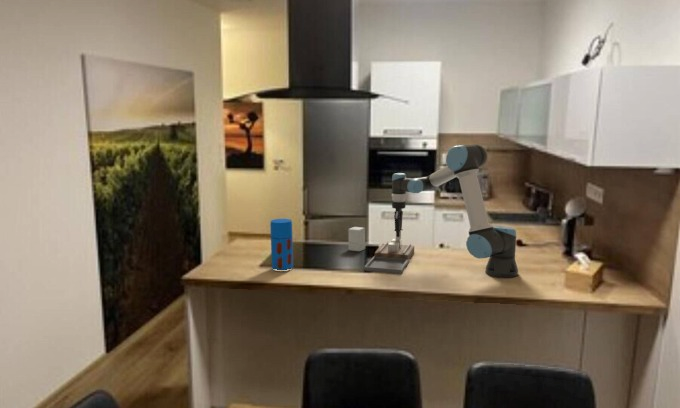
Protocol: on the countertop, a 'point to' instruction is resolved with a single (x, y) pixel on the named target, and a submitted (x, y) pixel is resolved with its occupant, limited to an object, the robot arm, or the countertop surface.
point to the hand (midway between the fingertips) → (398, 242)
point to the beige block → (393, 247)
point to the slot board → (403, 252)
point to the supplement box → (356, 238)
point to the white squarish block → (397, 242)
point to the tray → (386, 265)
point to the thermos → (281, 244)
